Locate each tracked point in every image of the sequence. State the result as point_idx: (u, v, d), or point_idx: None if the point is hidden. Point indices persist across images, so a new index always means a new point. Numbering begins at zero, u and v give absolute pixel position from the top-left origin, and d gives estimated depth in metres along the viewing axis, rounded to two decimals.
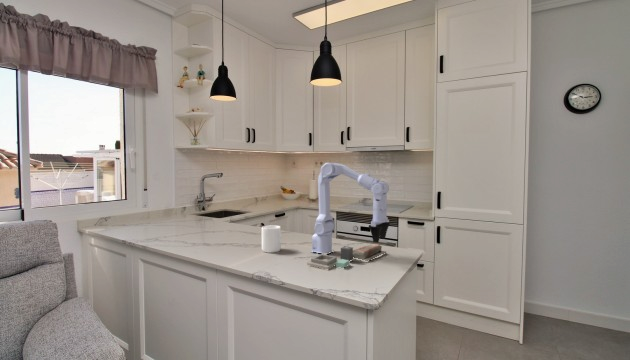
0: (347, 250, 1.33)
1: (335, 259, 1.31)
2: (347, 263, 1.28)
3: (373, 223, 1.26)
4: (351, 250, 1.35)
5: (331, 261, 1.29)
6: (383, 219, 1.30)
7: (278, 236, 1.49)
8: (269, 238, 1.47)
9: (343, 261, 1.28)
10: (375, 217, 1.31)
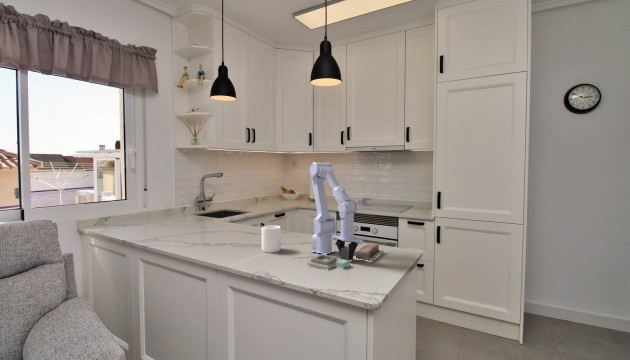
0: (347, 250, 1.33)
1: (335, 259, 1.31)
2: (347, 263, 1.28)
3: None
4: None
5: (331, 261, 1.29)
6: (341, 237, 1.34)
7: (278, 236, 1.49)
8: (269, 238, 1.47)
9: (343, 261, 1.28)
10: None
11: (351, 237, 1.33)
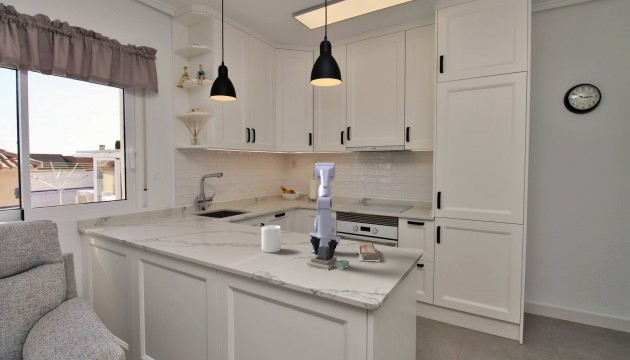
0: (324, 250, 1.29)
1: (335, 259, 1.31)
2: (346, 263, 1.28)
3: None
4: None
5: (331, 261, 1.29)
6: (318, 234, 1.30)
7: (278, 236, 1.49)
8: (269, 238, 1.47)
9: (342, 261, 1.28)
10: None
11: (328, 234, 1.28)
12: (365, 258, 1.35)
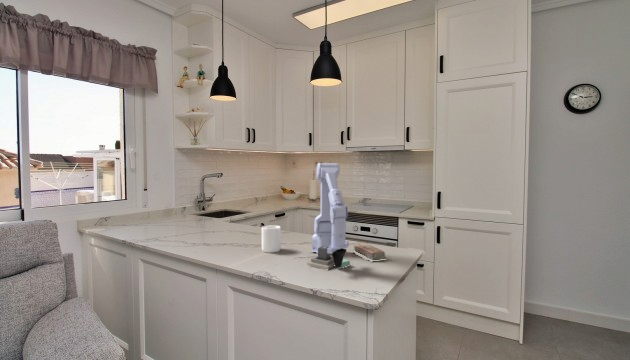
0: (324, 250, 1.29)
1: None
2: (347, 263, 1.28)
3: (329, 250, 1.19)
4: None
5: (331, 261, 1.29)
6: (341, 245, 1.22)
7: (278, 236, 1.49)
8: (269, 238, 1.47)
9: (343, 260, 1.28)
10: (333, 243, 1.23)
11: None
12: (375, 258, 1.35)
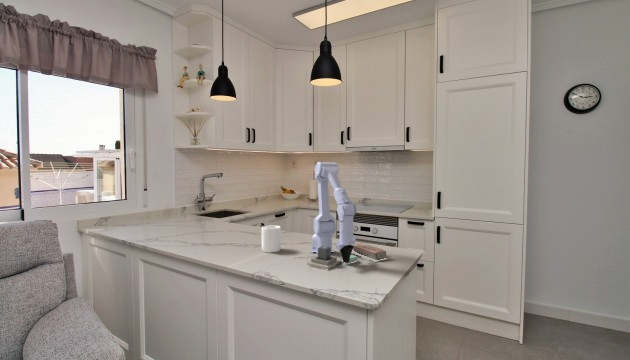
0: (324, 250, 1.29)
1: (335, 259, 1.31)
2: (355, 259, 1.34)
3: (338, 246, 1.24)
4: (329, 250, 1.31)
5: (331, 261, 1.29)
6: (349, 241, 1.28)
7: (278, 236, 1.49)
8: (269, 238, 1.47)
9: (351, 256, 1.34)
10: (341, 239, 1.29)
11: None
12: (379, 258, 1.36)
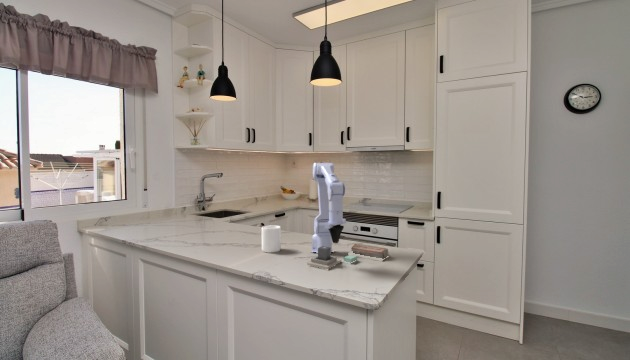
0: (324, 250, 1.29)
1: (335, 259, 1.31)
2: (355, 259, 1.34)
3: (327, 225, 1.22)
4: (329, 250, 1.31)
5: (331, 261, 1.29)
6: (338, 221, 1.26)
7: (278, 236, 1.49)
8: (269, 238, 1.47)
9: (351, 257, 1.34)
10: (330, 219, 1.27)
11: None
12: (385, 256, 1.38)
